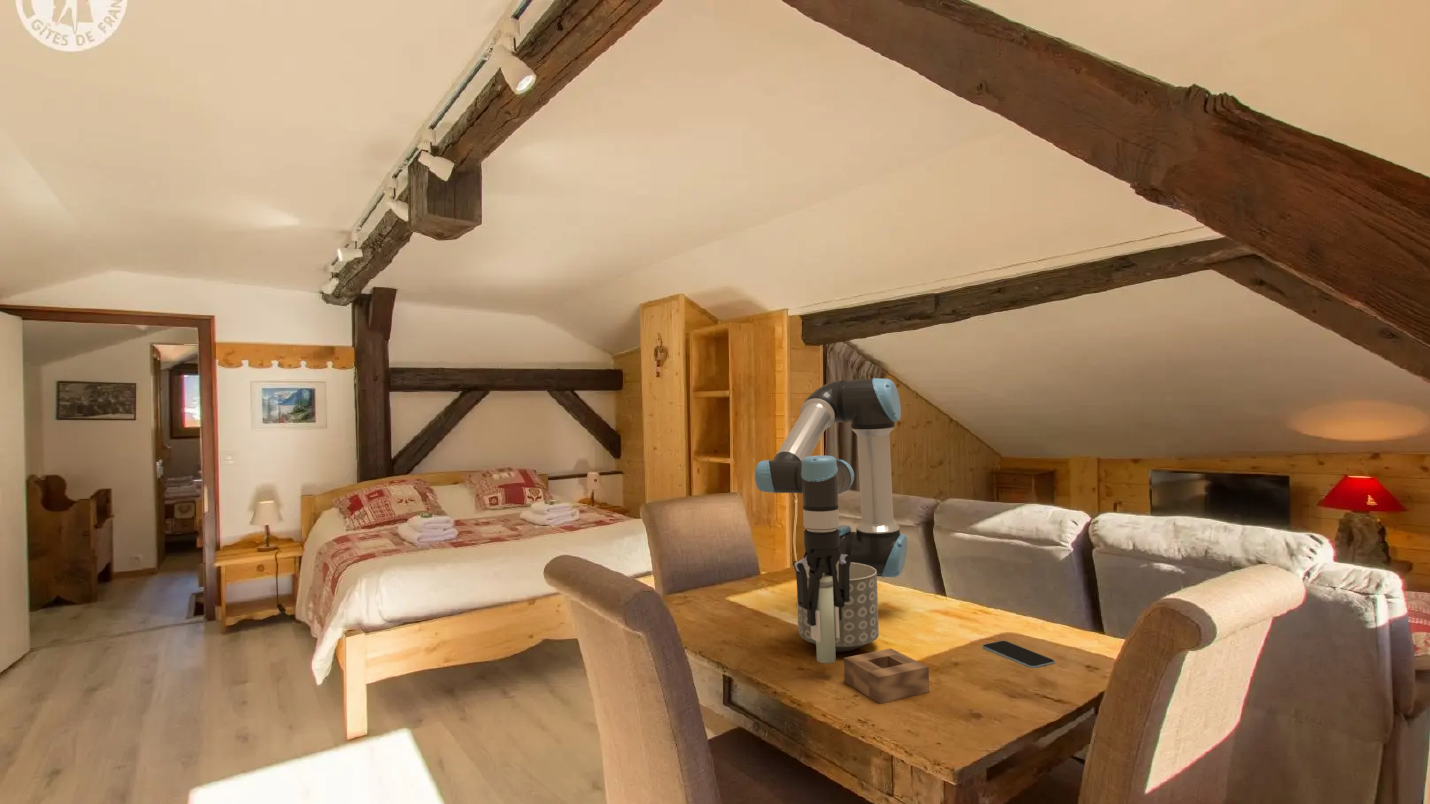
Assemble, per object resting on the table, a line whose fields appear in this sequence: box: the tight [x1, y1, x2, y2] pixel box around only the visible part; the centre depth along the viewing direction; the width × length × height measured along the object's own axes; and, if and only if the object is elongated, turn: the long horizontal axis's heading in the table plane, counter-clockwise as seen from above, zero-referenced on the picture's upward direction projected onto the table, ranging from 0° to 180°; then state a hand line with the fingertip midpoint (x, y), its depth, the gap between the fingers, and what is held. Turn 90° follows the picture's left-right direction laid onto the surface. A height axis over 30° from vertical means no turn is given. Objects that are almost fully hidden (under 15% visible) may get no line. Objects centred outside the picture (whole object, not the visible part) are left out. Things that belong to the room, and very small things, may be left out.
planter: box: [796, 562, 880, 653], centre depth 166 cm, size 19×19×18 cm
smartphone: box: [982, 640, 1056, 669], centre depth 157 cm, size 7×1×15 cm
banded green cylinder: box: [815, 573, 837, 664], centre depth 148 cm, size 4×4×18 cm
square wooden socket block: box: [843, 648, 930, 704], centre depth 141 cm, size 12×12×5 cm
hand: (825, 637), depth 148 cm, fingers closed on banded green cylinder, 4 cm apart
